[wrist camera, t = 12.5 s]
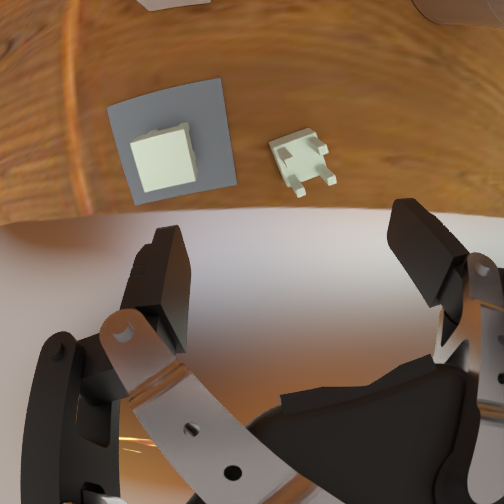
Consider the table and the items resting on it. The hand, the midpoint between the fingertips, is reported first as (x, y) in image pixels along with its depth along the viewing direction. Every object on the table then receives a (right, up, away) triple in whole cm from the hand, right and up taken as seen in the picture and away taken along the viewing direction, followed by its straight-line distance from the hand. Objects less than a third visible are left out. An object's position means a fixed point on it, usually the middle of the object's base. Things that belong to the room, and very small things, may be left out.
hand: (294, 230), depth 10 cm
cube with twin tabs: (-11, +12, +21) cm, 26 cm away
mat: (-11, +13, +21) cm, 27 cm away
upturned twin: (+4, +12, +24) cm, 27 cm away
